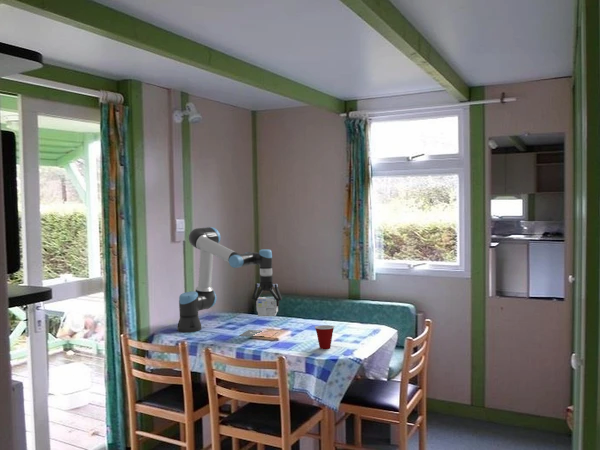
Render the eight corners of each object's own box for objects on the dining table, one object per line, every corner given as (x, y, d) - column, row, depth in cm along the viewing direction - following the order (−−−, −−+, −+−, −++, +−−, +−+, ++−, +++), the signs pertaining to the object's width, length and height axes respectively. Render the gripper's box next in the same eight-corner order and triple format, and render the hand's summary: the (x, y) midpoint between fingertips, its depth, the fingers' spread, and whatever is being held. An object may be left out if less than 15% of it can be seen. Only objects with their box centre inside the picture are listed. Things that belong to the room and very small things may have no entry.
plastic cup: (333, 344, 289) (333, 323, 288) (335, 350, 278) (335, 328, 278) (314, 345, 289) (313, 324, 288) (315, 351, 278) (315, 328, 277)
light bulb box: (276, 314, 316) (276, 296, 316) (275, 316, 310) (274, 298, 309) (259, 314, 318) (259, 296, 317) (257, 316, 311) (257, 298, 310)
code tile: (239, 335, 314) (239, 335, 314) (248, 330, 327) (248, 329, 327) (270, 337, 307) (270, 337, 307) (278, 331, 321) (278, 331, 321)
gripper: (245, 275, 313) (246, 311, 314) (282, 276, 305) (283, 313, 306) (250, 274, 320) (251, 309, 321) (286, 274, 313) (287, 310, 313)
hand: (267, 311), depth 314 cm, fingers closed on light bulb box, 11 cm apart
